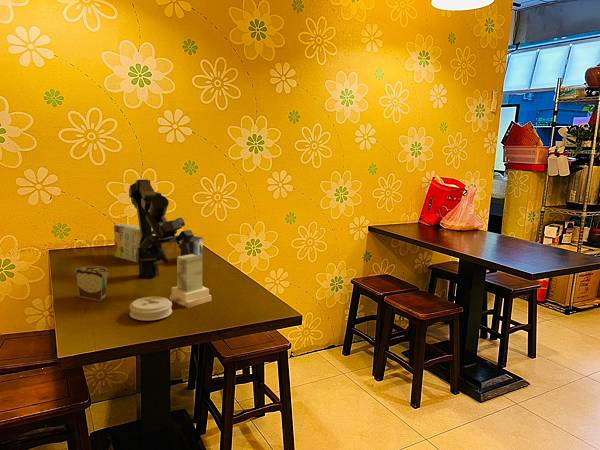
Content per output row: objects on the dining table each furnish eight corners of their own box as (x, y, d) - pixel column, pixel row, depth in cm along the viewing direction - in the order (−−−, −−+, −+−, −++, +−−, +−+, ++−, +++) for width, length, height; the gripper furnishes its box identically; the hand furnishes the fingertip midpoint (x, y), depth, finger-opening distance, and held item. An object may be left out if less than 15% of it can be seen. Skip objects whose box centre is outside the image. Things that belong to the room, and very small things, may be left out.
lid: (177, 318, 140) (177, 303, 140) (135, 326, 134) (134, 310, 133) (165, 305, 151) (165, 291, 150) (125, 312, 144) (125, 297, 143)
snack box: (155, 262, 200) (154, 229, 197) (144, 265, 195) (144, 230, 193) (124, 254, 211) (123, 222, 208) (113, 256, 207) (112, 224, 204)
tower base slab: (169, 302, 155) (169, 295, 155) (193, 295, 163) (193, 288, 163) (187, 309, 149) (187, 302, 149) (211, 302, 157) (211, 295, 156)
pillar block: (177, 287, 155) (177, 256, 153) (192, 284, 159) (192, 253, 157) (187, 292, 151) (187, 260, 149) (202, 288, 155) (202, 257, 153)
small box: (193, 264, 199) (193, 241, 197) (179, 263, 201) (179, 240, 199) (203, 258, 210) (203, 236, 208) (190, 257, 211) (190, 235, 209)
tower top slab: (171, 294, 156) (171, 287, 155) (194, 289, 162) (194, 282, 162) (185, 301, 149) (185, 294, 149) (209, 296, 156) (209, 289, 155)
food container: (117, 296, 157) (116, 268, 155) (104, 301, 151) (103, 272, 150) (89, 291, 161) (88, 263, 159) (75, 296, 155) (74, 268, 153)
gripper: (145, 213, 150) (166, 251, 146) (190, 208, 165) (210, 243, 160) (132, 232, 156) (152, 270, 152) (177, 226, 171) (196, 260, 166)
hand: (179, 260), depth 157 cm, fingers open, 9 cm apart
